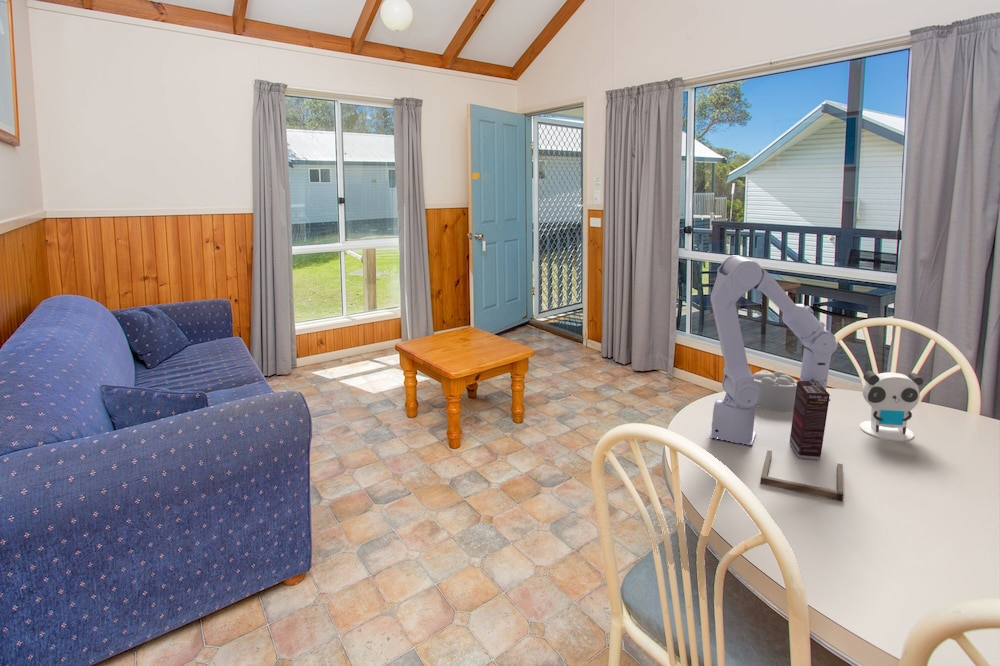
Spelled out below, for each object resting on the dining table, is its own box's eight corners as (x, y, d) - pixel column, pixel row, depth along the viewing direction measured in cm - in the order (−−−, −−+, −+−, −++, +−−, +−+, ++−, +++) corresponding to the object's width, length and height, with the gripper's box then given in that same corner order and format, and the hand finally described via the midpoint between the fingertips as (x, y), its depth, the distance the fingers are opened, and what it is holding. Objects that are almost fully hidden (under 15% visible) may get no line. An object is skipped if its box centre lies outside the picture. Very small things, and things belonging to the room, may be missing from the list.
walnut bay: (760, 483, 124) (760, 477, 124) (766, 456, 136) (767, 450, 136) (842, 501, 117) (843, 494, 117) (841, 470, 129) (842, 464, 129)
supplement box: (821, 460, 134) (831, 394, 129) (798, 459, 134) (807, 393, 130) (810, 443, 142) (818, 381, 137) (788, 442, 143) (796, 379, 138)
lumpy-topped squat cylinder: (757, 393, 174) (760, 364, 172) (804, 405, 165) (807, 375, 163) (741, 402, 167) (744, 373, 165) (788, 415, 158) (792, 384, 156)
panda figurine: (865, 438, 144) (874, 380, 140) (850, 419, 155) (858, 365, 151) (921, 443, 141) (932, 383, 137) (902, 423, 152) (912, 367, 148)
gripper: (833, 389, 133) (825, 445, 136) (833, 370, 145) (825, 422, 149) (797, 385, 136) (791, 439, 140) (800, 366, 148) (794, 417, 152)
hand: (806, 430), depth 144 cm, fingers closed
